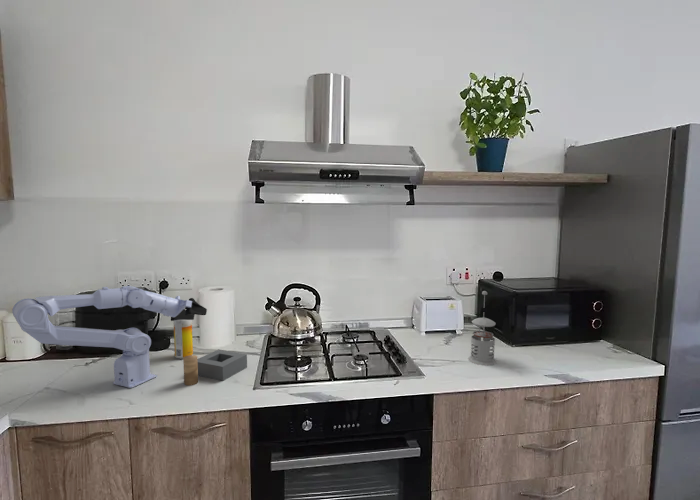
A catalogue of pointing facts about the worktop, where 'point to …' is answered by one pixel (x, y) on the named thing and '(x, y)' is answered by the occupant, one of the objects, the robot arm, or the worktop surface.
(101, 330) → the robot arm
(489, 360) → the french press
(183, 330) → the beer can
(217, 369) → the socket block
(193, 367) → the dowel
